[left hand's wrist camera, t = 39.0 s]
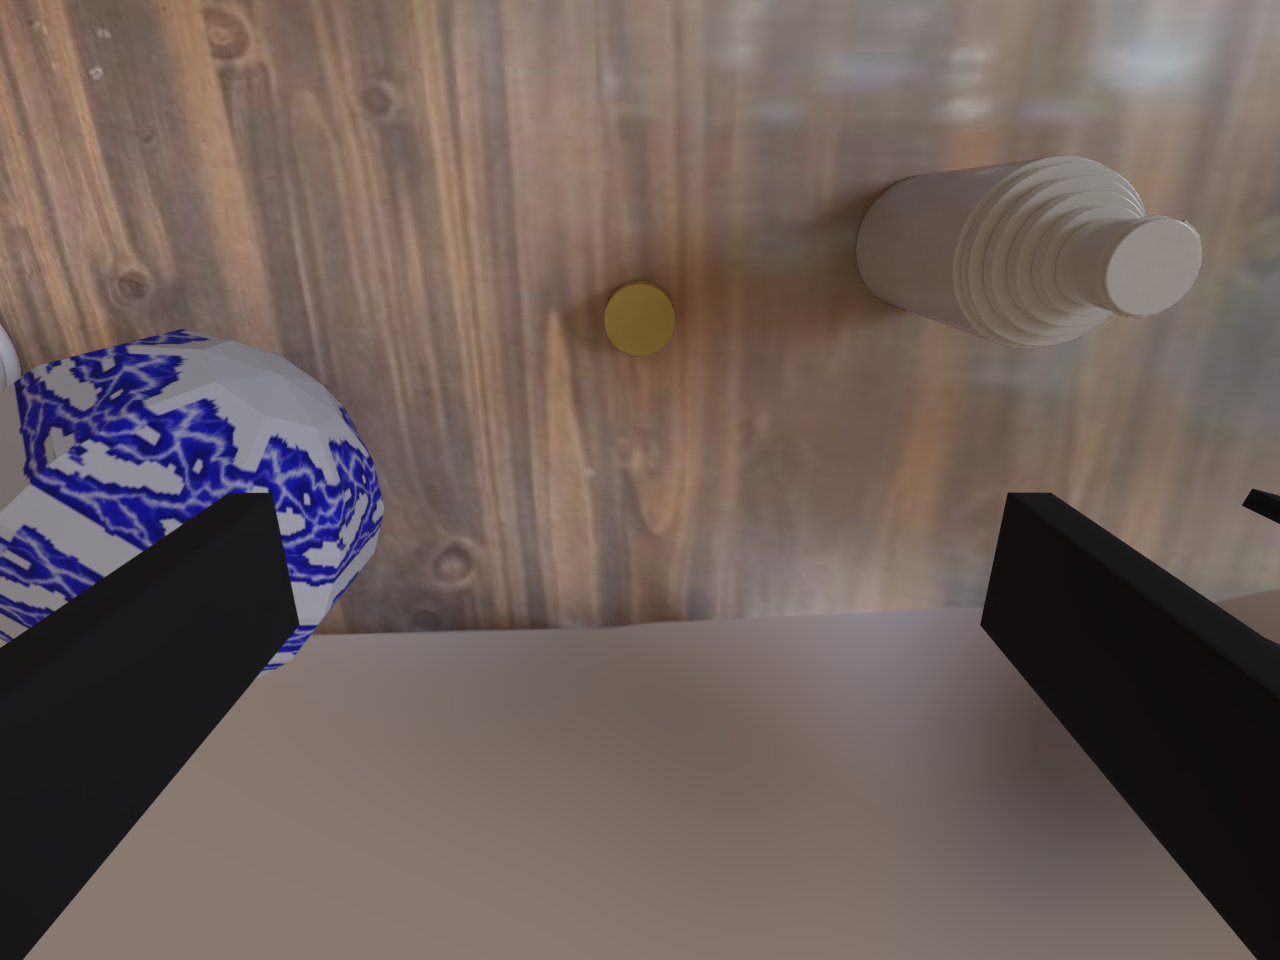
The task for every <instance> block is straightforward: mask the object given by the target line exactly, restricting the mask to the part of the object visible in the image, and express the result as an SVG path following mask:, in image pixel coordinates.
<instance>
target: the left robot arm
mask: <svg viewBox="0 0 1280 960" xmlns="http://www.w3.org/2000/svg"><path fill="white" fill-rule="evenodd" d="M299 625H300V624H299V619H298V614H297V609H296V605H295V600H294V595H293V590H292V585H291V581H290V576H289V571H288V566H287V561H286V557H285V552H284V547H283V542H282V537H281V533H280V528H279V523H278V518H277V514H276V509H275V504H274V499H273V494H272V493H228V494H227V495H225V496H224V497H222V498H221V499H219V500H218V501H216V502H215V503H213V504H212V505H210V506H209V507H207V508H206V509H204V510H203V511H202V512H200V513H199V514H197V515H196V516H194V517H193V518H191V519H190V520H188V521H187V522H185V523H184V524H182V525H181V526H179V527H178V528H176V529H175V530H174V531H172V532H171V533H169V534H168V535H166V536H165V537H163V538H162V539H160V540H159V541H157V542H156V543H154V544H153V545H151V546H150V547H148V548H147V549H146V550H144V551H143V552H141V553H140V554H138V555H137V556H135V557H134V558H132V559H131V560H129V561H128V562H126V563H125V564H123V565H122V566H120V567H119V568H117V569H116V570H115V571H113V572H112V573H110V574H109V575H107V576H106V577H104V578H103V579H101V580H100V581H98V582H97V583H95V584H94V585H92V586H91V587H89V588H88V589H87V590H85V591H84V592H82V593H81V594H79V595H78V596H76V597H75V598H73V599H72V600H70V601H69V602H67V603H66V604H64V605H63V606H61V607H60V608H59V609H57V610H56V611H54V612H53V613H51V614H50V615H48V616H47V617H45V618H44V619H42V620H41V621H39V622H38V623H36V624H35V625H33V626H32V627H31V628H29V629H28V630H26V631H25V632H23V633H22V634H20V635H19V636H17V637H16V638H14V639H13V640H11V641H10V642H8V643H7V644H5V645H4V646H3V647H1V648H0V960H23V959H24V958H25V956H26V955H27V954H28V953H29V952H30V950H31V949H32V948H33V947H34V945H35V944H36V943H37V942H38V941H39V939H40V938H41V937H42V936H43V935H44V933H45V932H46V931H47V930H48V929H49V927H50V926H51V925H52V924H53V923H54V921H55V920H56V919H57V918H58V916H59V915H60V914H61V913H62V912H63V910H64V909H65V908H66V907H67V906H68V904H69V903H70V902H71V901H72V900H73V898H74V897H75V896H76V895H77V894H78V892H79V891H80V890H81V889H82V887H83V886H84V885H85V884H86V883H87V881H88V880H89V879H90V878H91V877H92V875H93V874H94V873H95V872H96V871H97V869H98V868H99V867H100V866H101V865H102V863H103V862H104V861H105V860H106V858H107V857H108V856H109V855H110V854H111V852H112V851H113V850H114V849H115V848H116V846H117V845H118V844H119V843H120V842H121V840H122V839H123V838H124V837H125V836H126V834H127V833H128V832H129V831H130V830H131V828H132V827H133V826H134V825H135V823H136V822H137V821H138V820H139V819H140V817H141V816H142V815H143V814H144V813H145V811H146V810H147V809H148V808H149V807H150V805H151V804H152V803H153V802H154V801H155V799H156V798H157V797H158V796H159V794H160V793H161V792H162V791H163V790H164V788H165V787H166V786H167V785H168V784H169V782H170V781H171V780H172V779H173V778H174V776H175V775H176V774H177V773H178V772H179V770H180V769H181V768H182V767H183V766H184V764H185V763H186V762H187V761H188V759H189V758H190V757H191V756H192V755H193V753H194V752H195V751H196V750H197V749H198V747H199V746H200V745H201V744H202V743H203V741H204V740H205V739H206V738H207V736H208V735H209V734H210V733H211V732H212V730H213V729H214V728H215V727H216V726H217V724H218V723H219V722H220V721H221V720H222V718H223V717H224V716H225V715H226V714H227V712H228V711H229V710H230V709H231V708H232V706H233V705H234V704H235V703H236V701H237V700H238V699H239V698H240V697H241V695H242V694H243V693H244V692H245V691H246V689H247V688H248V687H249V686H250V685H251V683H252V682H253V681H254V680H255V679H256V677H257V676H258V675H259V674H260V672H261V671H262V670H263V669H264V668H265V666H266V665H267V664H268V663H269V662H270V660H271V659H272V658H273V657H274V656H275V654H276V653H277V652H278V651H279V650H280V648H281V647H282V646H283V645H284V644H285V642H286V641H287V640H288V639H289V637H290V636H291V635H292V634H293V633H294V631H295V630H296V629H297V628H298V627H299ZM980 625H981V627H982V628H983V629H984V630H985V631H986V633H987V634H988V635H989V636H990V637H991V639H992V640H993V641H994V642H995V644H996V645H997V646H998V647H999V648H1000V650H1001V651H1002V652H1003V653H1004V654H1005V656H1006V657H1007V658H1008V659H1009V660H1010V662H1011V663H1012V664H1013V665H1014V666H1015V668H1016V669H1017V670H1018V671H1019V672H1020V674H1021V675H1022V676H1023V677H1024V679H1025V680H1026V681H1027V682H1028V683H1029V685H1030V686H1031V687H1032V688H1033V689H1034V691H1035V692H1036V693H1037V694H1038V695H1039V697H1040V698H1041V699H1042V700H1043V701H1044V703H1045V704H1046V705H1047V706H1048V708H1049V709H1050V710H1051V711H1052V712H1053V713H1054V715H1055V716H1056V717H1057V718H1058V720H1059V721H1060V722H1061V723H1062V724H1063V726H1064V727H1065V728H1066V729H1067V730H1068V732H1069V733H1070V734H1071V735H1072V736H1073V738H1074V739H1075V740H1076V741H1077V743H1078V744H1079V745H1080V746H1081V747H1082V749H1083V750H1084V751H1085V752H1086V753H1087V755H1088V756H1089V757H1090V758H1091V759H1092V761H1093V762H1094V763H1095V764H1096V765H1097V767H1098V768H1099V769H1100V770H1101V772H1102V773H1103V774H1104V775H1105V776H1106V778H1107V779H1108V780H1109V781H1110V782H1111V784H1112V785H1113V786H1114V787H1115V788H1116V790H1117V791H1118V792H1119V793H1120V794H1121V796H1122V797H1123V798H1124V799H1125V801H1126V802H1127V803H1128V804H1129V805H1130V806H1131V808H1132V809H1133V810H1134V811H1135V813H1136V814H1137V815H1138V816H1139V817H1140V819H1141V820H1142V821H1143V822H1144V823H1145V825H1146V826H1147V827H1148V828H1149V830H1150V831H1151V832H1152V833H1153V834H1154V836H1155V837H1156V838H1157V839H1158V840H1159V842H1160V843H1161V844H1162V845H1163V846H1164V848H1165V849H1166V850H1167V851H1168V852H1169V854H1170V855H1171V856H1172V857H1173V858H1174V860H1175V861H1176V862H1177V863H1178V865H1179V866H1180V867H1181V868H1182V869H1183V871H1184V872H1185V873H1186V874H1187V875H1188V877H1189V878H1190V879H1191V880H1192V881H1193V883H1194V884H1195V885H1196V886H1197V888H1198V889H1199V890H1200V891H1201V892H1202V894H1203V895H1204V896H1205V897H1206V898H1207V900H1208V901H1209V902H1210V903H1211V904H1212V906H1213V907H1214V908H1215V909H1216V910H1217V912H1218V913H1219V914H1220V915H1221V917H1222V918H1223V919H1224V920H1225V921H1226V923H1227V924H1228V925H1229V926H1230V927H1231V929H1232V930H1233V931H1234V932H1235V933H1236V935H1237V936H1238V937H1239V938H1240V939H1241V941H1242V942H1243V943H1244V944H1245V945H1246V947H1247V948H1248V949H1249V950H1250V952H1251V953H1252V954H1253V955H1254V956H1255V958H1256V959H1257V960H1280V645H1279V644H1277V643H1275V642H1273V641H1271V640H1268V639H1266V638H1264V637H1263V636H1261V635H1260V634H1258V633H1257V632H1255V631H1254V630H1252V629H1251V628H1249V627H1248V626H1246V625H1245V624H1244V623H1242V622H1241V621H1239V620H1238V619H1236V618H1235V617H1233V616H1232V615H1230V614H1229V613H1227V612H1226V611H1224V610H1223V609H1221V608H1220V607H1219V606H1217V605H1216V604H1214V603H1213V602H1211V601H1210V600H1208V599H1207V598H1205V597H1204V596H1202V595H1201V594H1199V593H1198V592H1196V591H1195V590H1193V589H1192V588H1191V587H1189V586H1188V585H1186V584H1185V583H1183V582H1182V581H1180V580H1179V579H1177V578H1176V577H1174V576H1173V575H1171V574H1170V573H1168V572H1167V571H1165V570H1164V569H1163V568H1161V567H1160V566H1158V565H1157V564H1155V563H1154V562H1152V561H1151V560H1149V559H1148V558H1146V557H1145V556H1143V555H1142V554H1140V553H1139V552H1137V551H1136V550H1134V549H1133V548H1132V547H1130V546H1129V545H1127V544H1126V543H1124V542H1123V541H1121V540H1120V539H1118V538H1117V537H1115V536H1114V535H1112V534H1111V533H1109V532H1108V531H1106V530H1105V529H1104V528H1102V527H1101V526H1099V525H1098V524H1096V523H1095V522H1093V521H1092V520H1090V519H1089V518H1087V517H1086V516H1084V515H1083V514H1081V513H1080V512H1078V511H1077V510H1076V509H1074V508H1073V507H1071V506H1070V505H1068V504H1067V503H1065V502H1064V501H1062V500H1061V499H1059V498H1058V497H1056V496H1055V495H1053V494H1052V493H1008V494H1007V499H1006V504H1005V509H1004V514H1003V518H1002V523H1001V528H1000V533H999V537H998V542H997V547H996V552H995V557H994V561H993V566H992V571H991V576H990V581H989V585H988V590H987V595H986V600H985V605H984V609H983V614H982V619H981V624H980Z"/></svg>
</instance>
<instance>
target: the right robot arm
mask: <svg viewBox="0 0 1280 960" xmlns="http://www.w3.org/2000/svg"><path fill="white" fill-rule="evenodd" d="M1242 506H1244V507H1246V508H1248V509H1250V510H1252V511H1254V512H1256V513H1258V514H1260V515H1263V516H1265V517H1267V518H1269V519H1271V520H1273V521H1275V522H1277V523H1279V524H1280V496H1279V495H1275V494H1271V493H1267V492H1263V491H1259V490H1255V489H1252V490H1251V492H1250V493H1249V495H1248V496H1247V498H1246V500H1245V501H1244V503H1243V504H1242Z"/></svg>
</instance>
